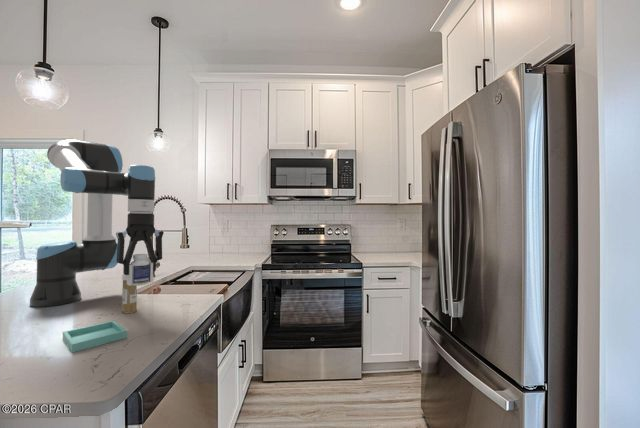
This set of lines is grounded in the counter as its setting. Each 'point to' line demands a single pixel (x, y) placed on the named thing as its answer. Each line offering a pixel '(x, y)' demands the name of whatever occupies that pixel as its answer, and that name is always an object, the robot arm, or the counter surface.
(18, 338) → the counter surface
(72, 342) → the tray
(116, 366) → the counter surface
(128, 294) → the sprinkles bottle
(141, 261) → the pill bottle
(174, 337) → the counter surface
